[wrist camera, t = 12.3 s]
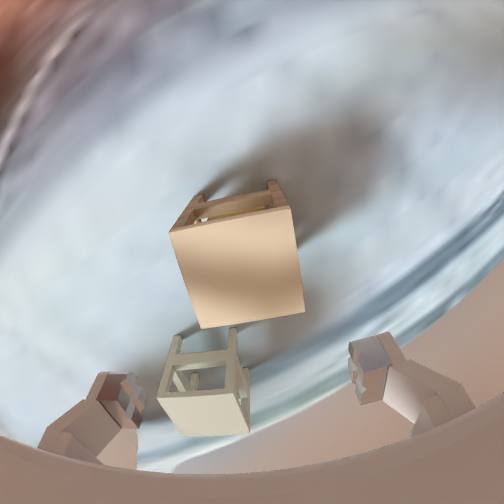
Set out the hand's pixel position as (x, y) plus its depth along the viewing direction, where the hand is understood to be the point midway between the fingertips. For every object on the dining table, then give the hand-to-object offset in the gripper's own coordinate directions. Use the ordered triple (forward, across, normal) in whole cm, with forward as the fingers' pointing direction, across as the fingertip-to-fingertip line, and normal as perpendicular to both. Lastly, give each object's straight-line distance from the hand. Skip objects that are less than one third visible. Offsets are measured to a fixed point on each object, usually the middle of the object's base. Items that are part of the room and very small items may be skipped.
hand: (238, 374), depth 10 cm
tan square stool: (+15, 0, 0) cm, 15 cm away
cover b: (+15, +6, +12) cm, 21 cm away
